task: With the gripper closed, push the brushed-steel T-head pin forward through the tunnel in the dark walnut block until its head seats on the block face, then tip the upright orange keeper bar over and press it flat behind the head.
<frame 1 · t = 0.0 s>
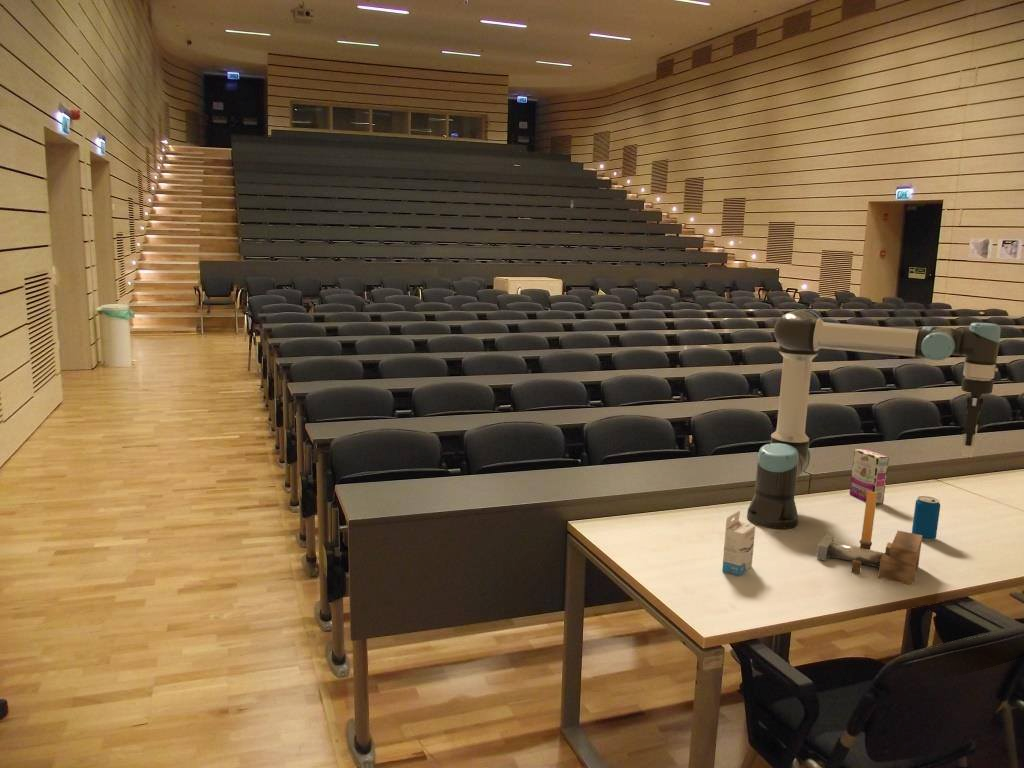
hand: (967, 451, 222), 28 cm above the table, fingers open, 13 cm apart
pin: (855, 554, 212), point 2 cm above the table, slide at 0.0 cm
ink box: (737, 569, 206), on the table
candy bar box: (866, 499, 265), on the table
beverage can: (923, 538, 231), on the table
hitch block: (898, 571, 206), on the table
keeper bar: (869, 518, 216), point 11 cm above the table, hinge at 95.0°
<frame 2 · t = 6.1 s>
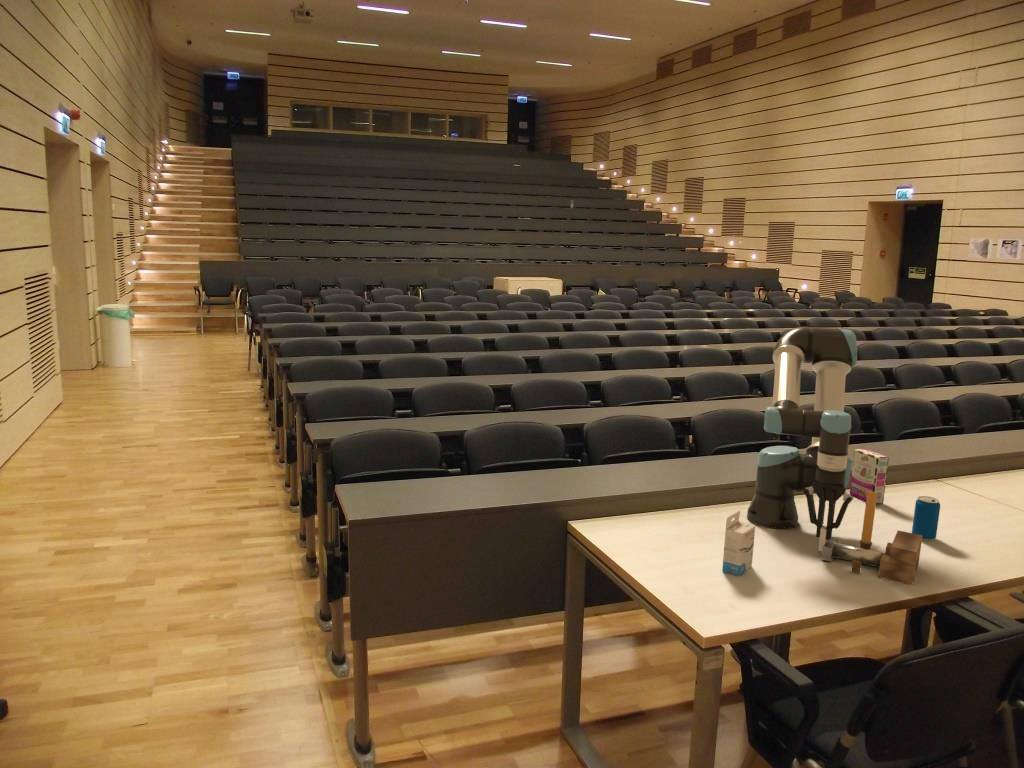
hand: (822, 549, 216), 2 cm above the table, fingers closed
pin: (860, 555, 211), point 2 cm above the table, slide at 1.3 cm, touching gripper
everything else where it was.
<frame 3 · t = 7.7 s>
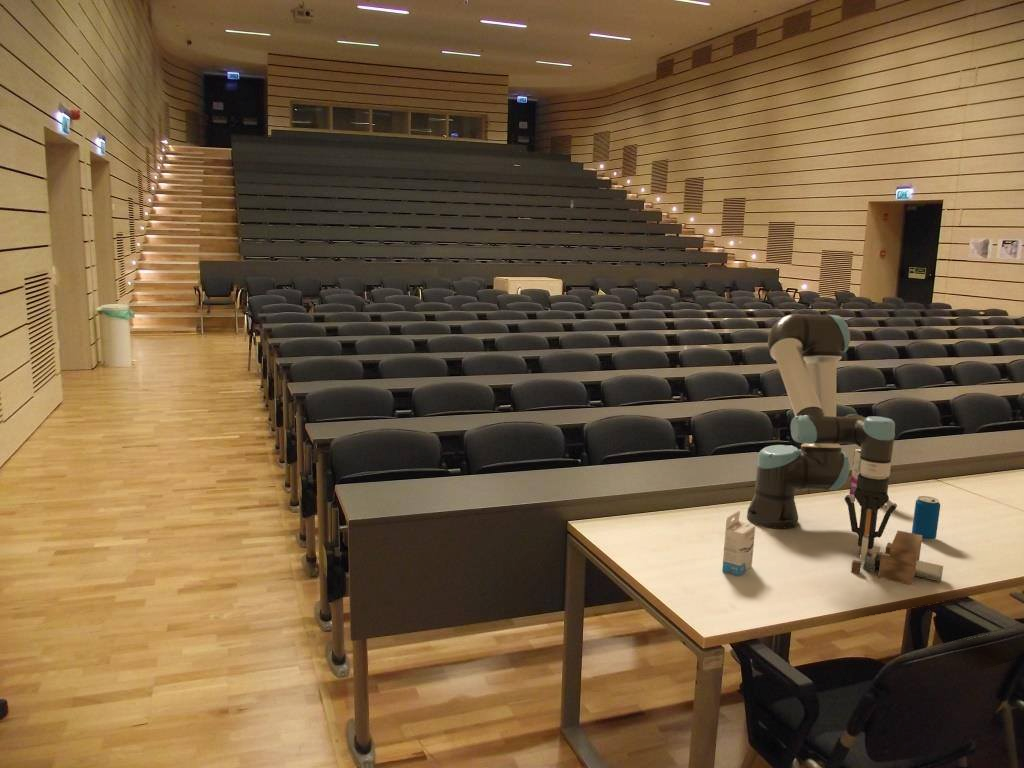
hand: (863, 558, 211), 2 cm above the table, fingers closed
pin: (903, 565, 206), point 2 cm above the table, slide at 12.0 cm
everything else where it was.
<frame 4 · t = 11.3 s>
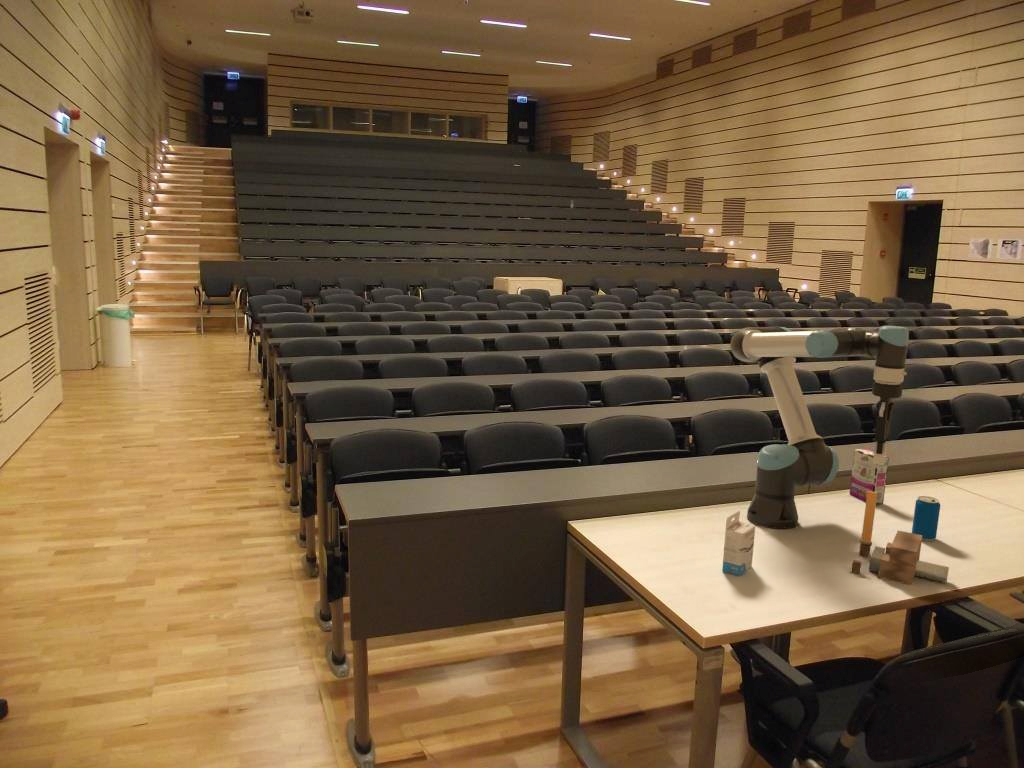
hand: (878, 463, 220), 24 cm above the table, fingers closed
pin: (909, 566, 205), point 2 cm above the table, slide at 13.2 cm
everything else where it was.
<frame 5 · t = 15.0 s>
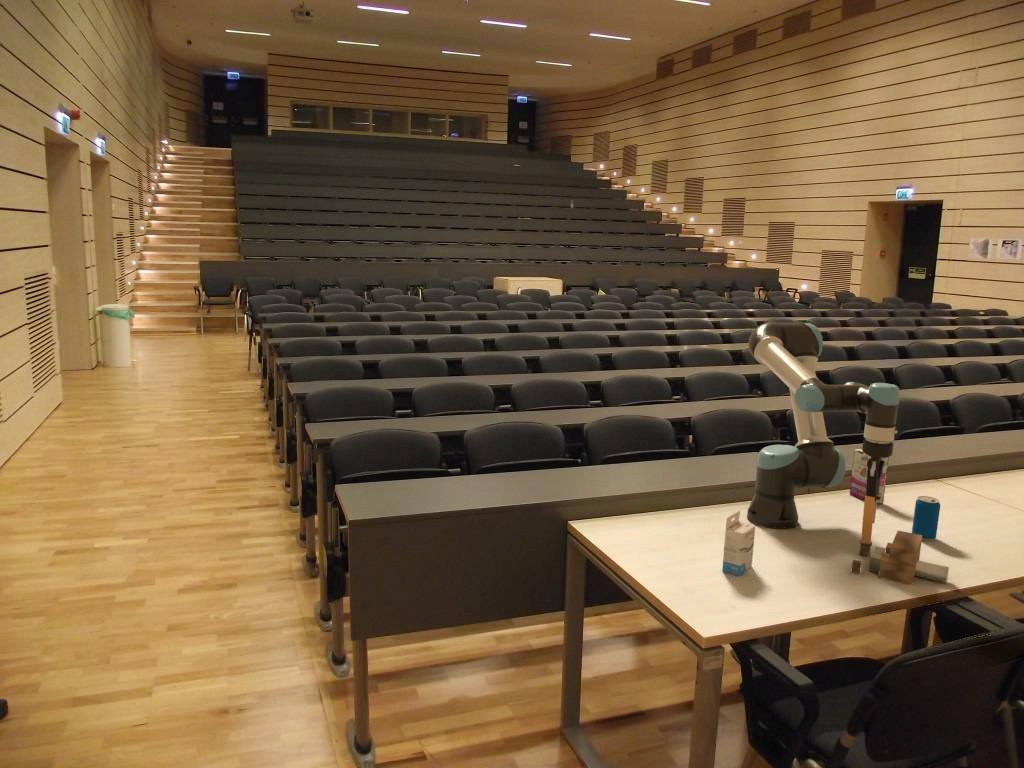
hand: (869, 521, 216), 9 cm above the table, fingers closed
keeper bar: (867, 520, 214), point 10 cm above the table, hinge at 78.1°, touching gripper, hand
everything else where it was.
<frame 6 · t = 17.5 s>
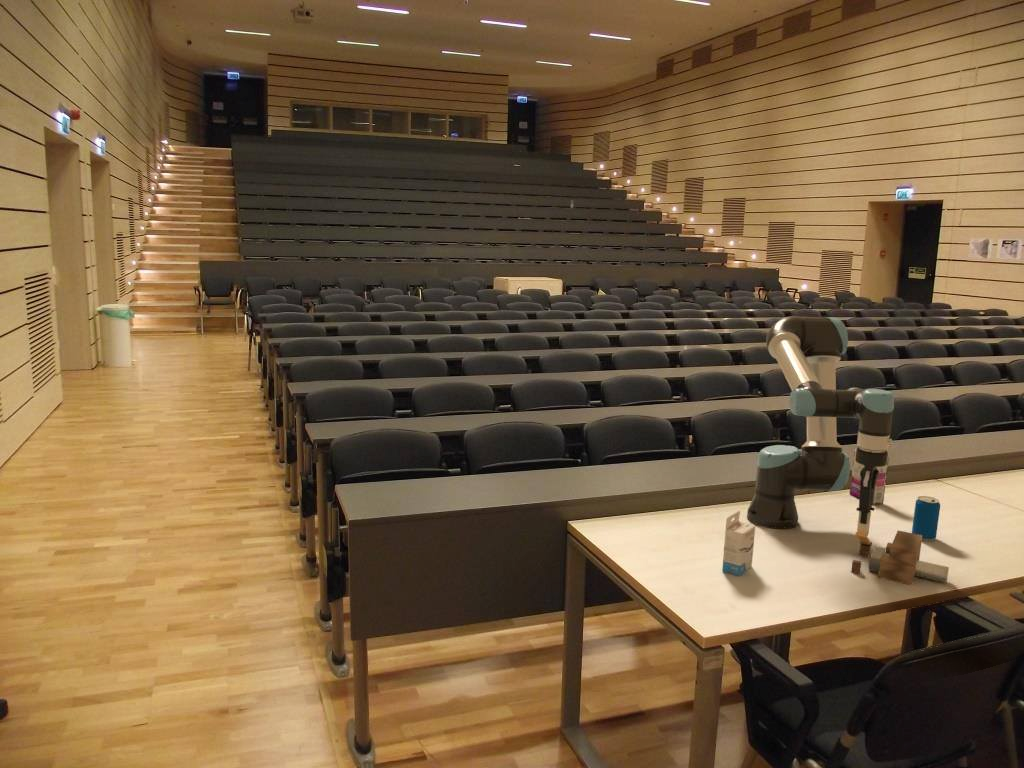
hand: (862, 533, 208), 9 cm above the table, fingers closed
keeper bar: (863, 538, 211), point 7 cm above the table, hinge at 27.0°, touching gripper
everything else where it was.
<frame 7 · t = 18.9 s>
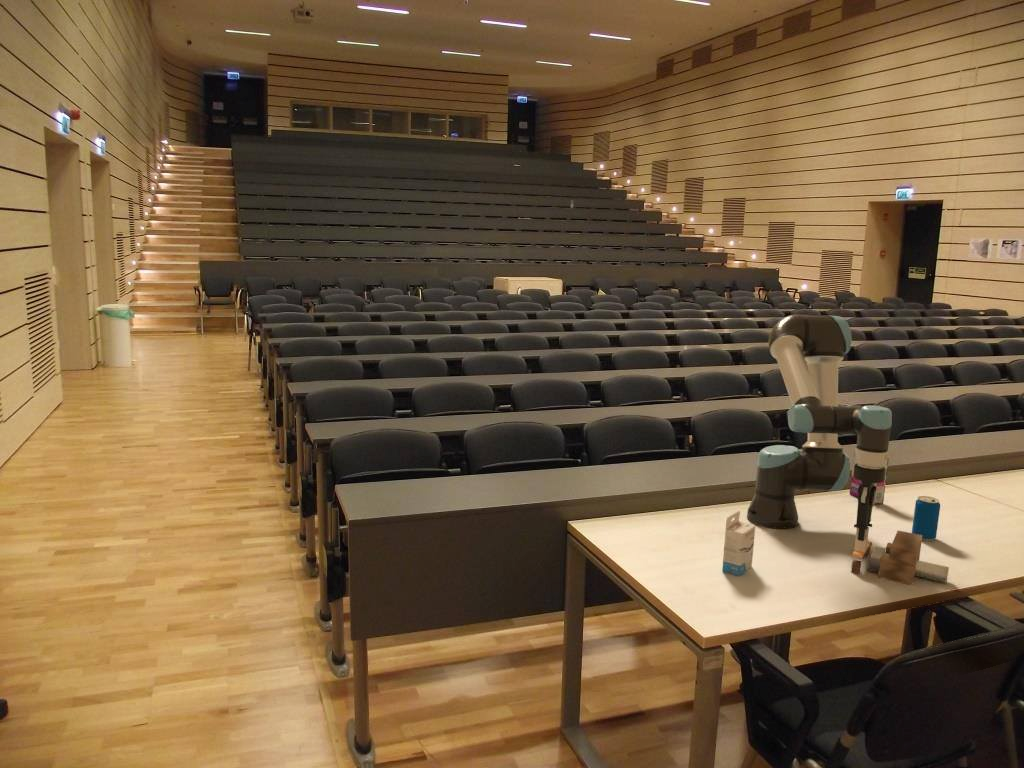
hand: (860, 550, 208), 5 cm above the table, fingers closed, pressing on keeper bar
keeper bar: (861, 548, 211), point 4 cm above the table, hinge at 4.5°, touching gripper
everything else where it was.
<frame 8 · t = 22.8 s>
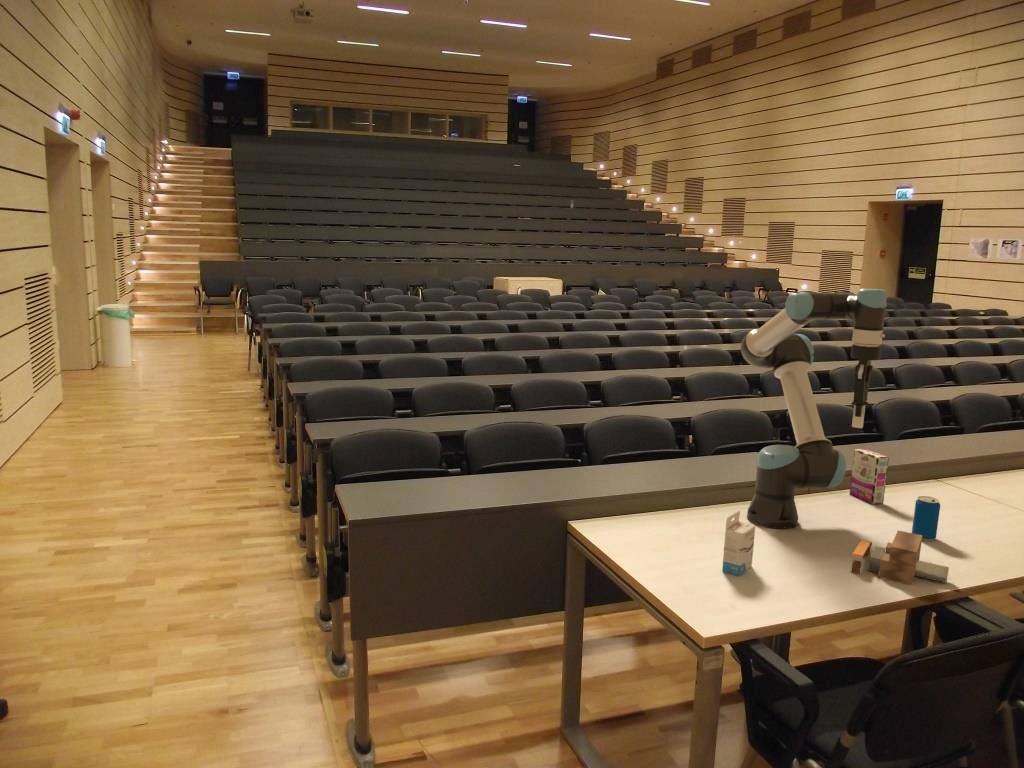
hand: (857, 427, 220), 34 cm above the table, fingers closed
keeper bar: (861, 548, 211), point 4 cm above the table, hinge at 4.3°
everything else where it was.
at the end: pin slide at 13.2 cm; keeper bar at +4° (first picture: +95°) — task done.
